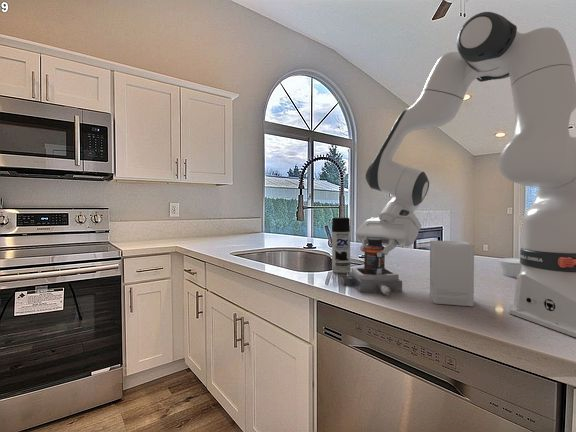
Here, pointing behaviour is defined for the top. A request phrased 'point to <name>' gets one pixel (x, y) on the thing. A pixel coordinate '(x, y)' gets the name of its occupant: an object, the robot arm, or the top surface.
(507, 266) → the ramekin
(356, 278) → the grey square tray
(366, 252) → the supplement bottle
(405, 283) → the top surface
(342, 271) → the spray can
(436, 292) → the supplement box
